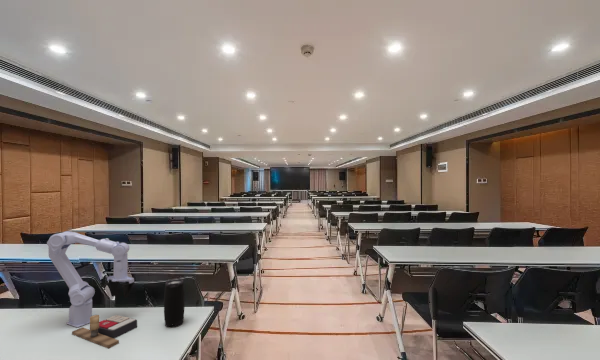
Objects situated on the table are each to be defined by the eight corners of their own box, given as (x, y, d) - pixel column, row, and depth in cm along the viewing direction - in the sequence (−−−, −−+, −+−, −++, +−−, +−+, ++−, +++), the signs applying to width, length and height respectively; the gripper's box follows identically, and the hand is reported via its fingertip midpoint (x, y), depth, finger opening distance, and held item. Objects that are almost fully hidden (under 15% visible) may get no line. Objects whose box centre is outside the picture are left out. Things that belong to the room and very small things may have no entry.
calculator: (116, 313, 131) (137, 318, 125) (116, 323, 131) (137, 327, 125) (91, 324, 121) (112, 329, 115) (91, 334, 121) (112, 339, 115)
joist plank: (72, 334, 119) (72, 331, 119) (82, 329, 123) (82, 327, 123) (108, 348, 108) (108, 345, 108) (118, 343, 112) (118, 340, 112)
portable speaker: (185, 317, 134) (185, 277, 134) (183, 327, 125) (183, 283, 125) (165, 320, 131) (166, 279, 132) (162, 330, 122) (162, 285, 123)
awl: (88, 336, 115) (88, 317, 115) (96, 333, 117) (96, 314, 118) (92, 338, 113) (92, 318, 114) (100, 334, 116) (101, 315, 116)
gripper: (101, 269, 133) (100, 298, 132) (125, 272, 129) (124, 301, 128) (114, 265, 139) (114, 292, 139) (137, 267, 136) (137, 295, 135)
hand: (120, 296), depth 134 cm, fingers open, 7 cm apart
